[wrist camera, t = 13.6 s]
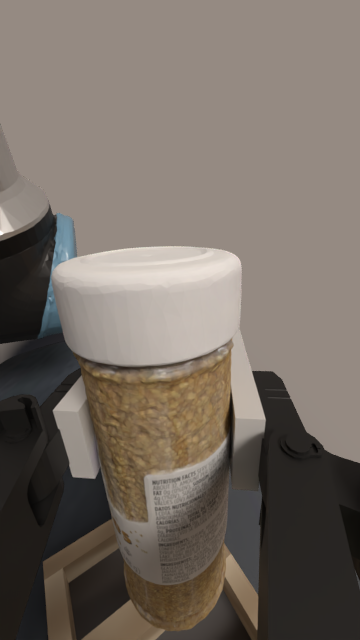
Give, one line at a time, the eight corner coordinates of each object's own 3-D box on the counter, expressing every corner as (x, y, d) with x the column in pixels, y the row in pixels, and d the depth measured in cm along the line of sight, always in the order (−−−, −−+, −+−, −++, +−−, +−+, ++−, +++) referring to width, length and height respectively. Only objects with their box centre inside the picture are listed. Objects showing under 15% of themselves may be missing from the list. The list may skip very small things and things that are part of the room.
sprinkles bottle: (117, 529, 12) (53, 252, 7) (198, 491, 14) (191, 241, 9) (139, 673, 8) (32, 282, 3) (250, 596, 10) (290, 252, 5)
